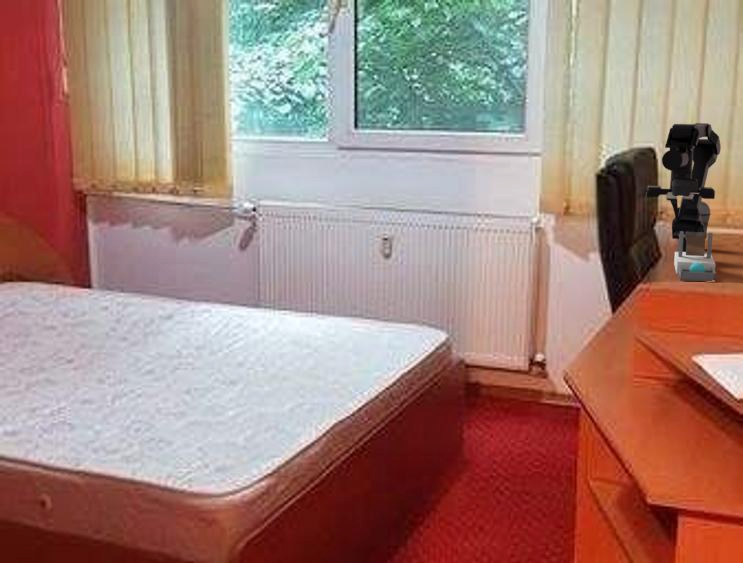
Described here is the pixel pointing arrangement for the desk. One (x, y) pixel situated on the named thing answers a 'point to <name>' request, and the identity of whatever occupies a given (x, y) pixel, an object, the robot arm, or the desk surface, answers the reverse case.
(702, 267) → the ball
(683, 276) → the tray
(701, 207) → the beverage cup
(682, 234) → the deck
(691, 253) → the lever
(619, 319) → the desk surface
